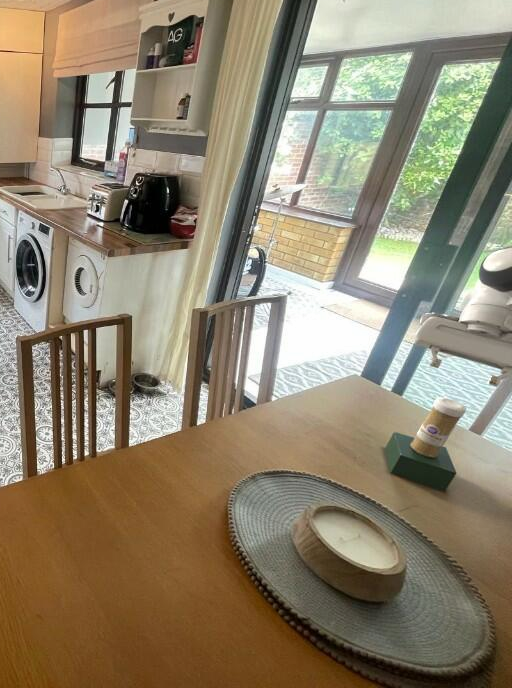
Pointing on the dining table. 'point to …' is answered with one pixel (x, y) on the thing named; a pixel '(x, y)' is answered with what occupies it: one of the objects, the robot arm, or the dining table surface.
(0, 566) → the dining table surface
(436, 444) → the sprinkles bottle
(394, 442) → the riser block
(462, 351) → the robot arm
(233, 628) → the dining table surface
